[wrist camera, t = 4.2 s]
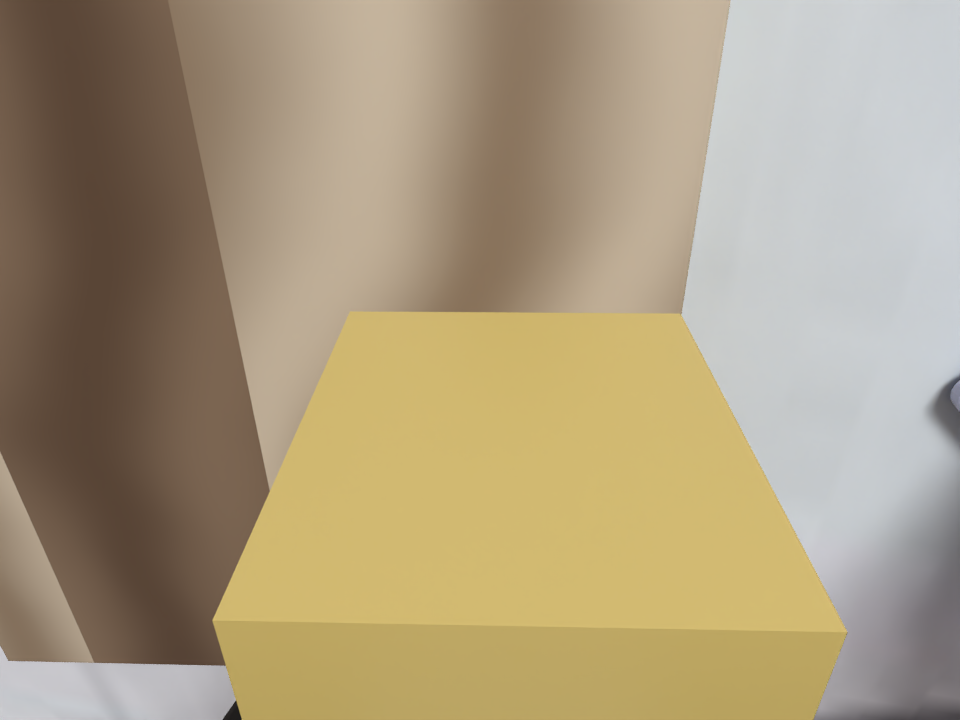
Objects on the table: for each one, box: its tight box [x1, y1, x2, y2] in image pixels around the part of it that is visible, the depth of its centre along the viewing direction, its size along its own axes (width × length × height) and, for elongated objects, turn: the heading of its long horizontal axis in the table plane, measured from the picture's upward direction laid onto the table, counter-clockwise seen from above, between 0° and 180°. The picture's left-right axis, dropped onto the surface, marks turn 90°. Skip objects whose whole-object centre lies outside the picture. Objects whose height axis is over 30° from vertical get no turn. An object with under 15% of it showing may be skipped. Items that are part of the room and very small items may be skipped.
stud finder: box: [212, 311, 847, 720], centre depth 9 cm, size 4×9×5 cm, turn 0°
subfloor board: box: [0, 0, 730, 666], centre depth 16 cm, size 19×20×1 cm
